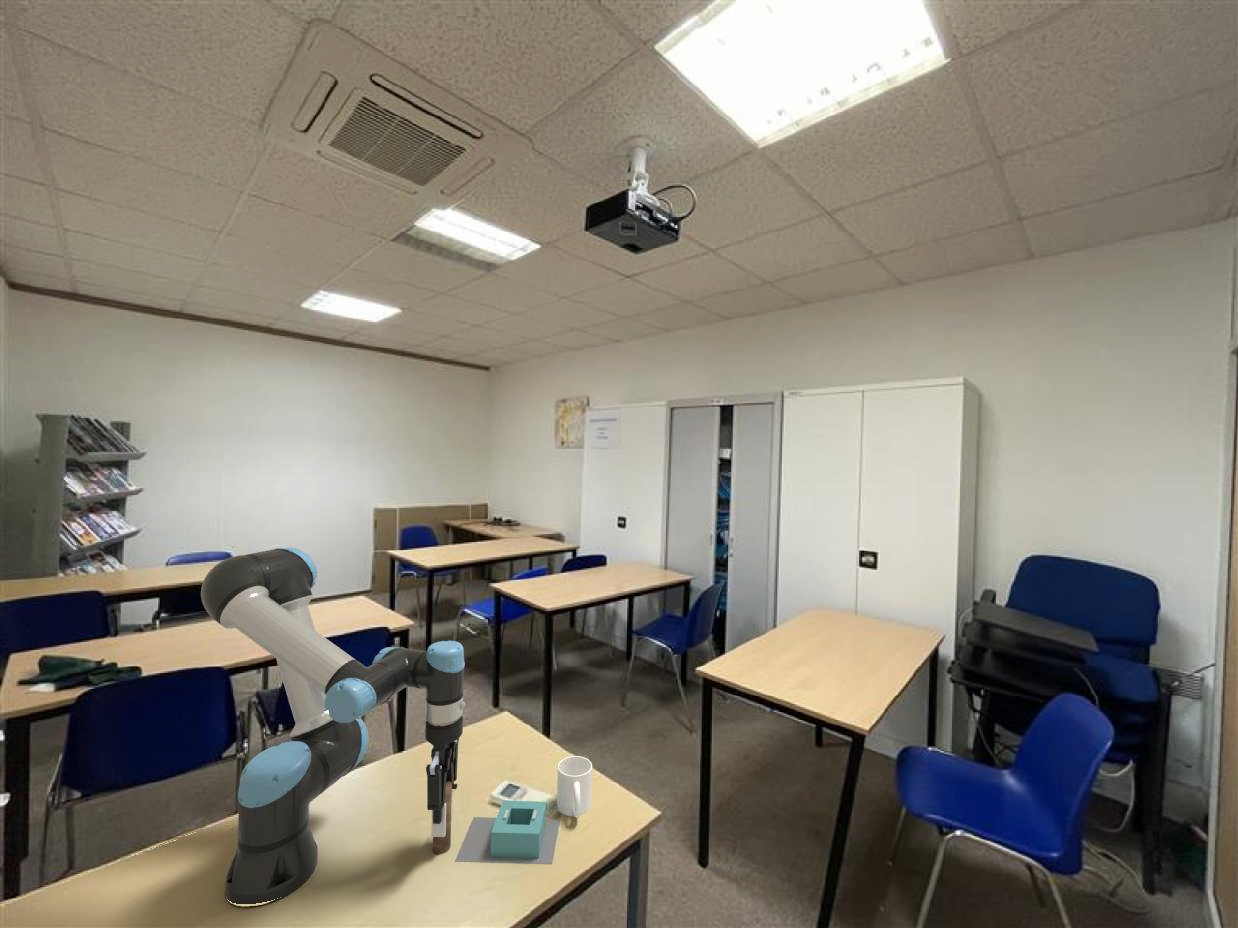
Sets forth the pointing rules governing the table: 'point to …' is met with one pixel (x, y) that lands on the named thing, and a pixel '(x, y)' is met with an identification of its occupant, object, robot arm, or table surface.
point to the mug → (574, 786)
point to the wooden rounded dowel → (444, 843)
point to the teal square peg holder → (519, 829)
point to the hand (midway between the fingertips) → (442, 828)
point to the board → (479, 844)
